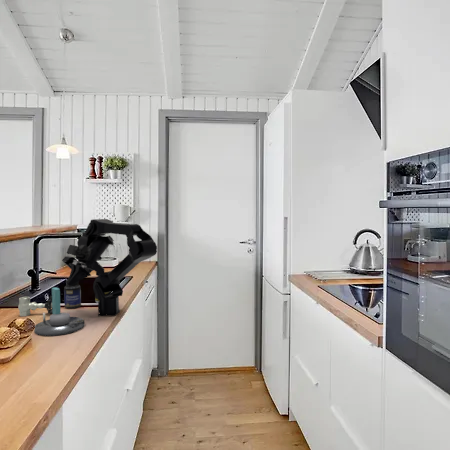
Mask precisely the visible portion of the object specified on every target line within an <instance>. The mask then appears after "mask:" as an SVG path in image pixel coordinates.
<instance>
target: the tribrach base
mask: <svg viewBox="0 0 450 450" xmlns="http://www.w3.org/2000/svg"><path fill="white" fill-rule="evenodd" d="M85 322H86V321H85V319H84V318H82V317H79V316H70V322H69V323H68V324H65V325H60V326H52V325H50V318H49V319H46V312H42V321H41V322H38V323H36V324H35V325H34V327H35V329H34V328H33V329H34V334H35V335H36V336H40V337H58V336H64V335H69V334H70V335H71V334H72V333H75V332H78V331H81V330H82V329H84V328H85V327H86V325H85Z"/></svg>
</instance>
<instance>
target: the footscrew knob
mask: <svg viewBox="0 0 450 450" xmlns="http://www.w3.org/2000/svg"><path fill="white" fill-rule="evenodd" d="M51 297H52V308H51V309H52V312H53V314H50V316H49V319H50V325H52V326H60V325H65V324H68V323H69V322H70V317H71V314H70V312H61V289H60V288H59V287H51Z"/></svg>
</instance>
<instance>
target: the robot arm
mask: <svg viewBox="0 0 450 450" xmlns="http://www.w3.org/2000/svg"><path fill="white" fill-rule="evenodd" d="M109 234H112V235H122V236H126V244H127V247H128V253H127V255H126V256H125V257H124V258H123V259H122V260H121V261H120V262H119V263H118V264H117V265H116V266H114V268H113V269H112V270H110V271H105V268H104V267H103V266H102V265H101V264H100V263H99V262H98V261H101V260H102V259H103V257H102V255H103V254H104V252H105V251H106V250H107V249H108V248H109V246H110V245H111V246H114V245H115V242H114V239H113V237H112V236H111V235H109ZM106 235H108V236H106ZM135 236H136V237H137V238H138V239H139V240H135V238H134V237H135ZM76 243H77V245H74V244H69V245H68V248H67V250H66V254H68V255H67V256H64V257H63V258H62V260H61V261H62V263H64V265H66V266H67V267H68V268H69V269H70V273H69V276H68V279H67V280H68V281H67V284H66V286H67V285H68V286H70V285H72V284H74V283H76V282H78V281H79V282H80V281H81V280H83V279H86V278H88V277H91V276H92V274H91V273H92V272H93V271H95V275H96V277H94V279H95V280H94V281H93V285H92V288H93V294H94V298H96V299H97V300H99V302H98V303H97V312H98V314H97V316H98V317H108V316H109V317H115V316H117V315H118V314H119V313H120V312H121V309H120V302H119V301H120V299H119V297H122V296H123V293H124V290H123V289H122V286H120V281H121V280H122V279H123V278H124V277H125V276H127V275H128V274H129V273H130V272H131V271H132V270H133V269H134V268H135V267H137V265H139V263H141V262H144V261H146V260H148V259H151V258H153V257H154V256H156V255H157V253H158V246H157V243H156V242H155V241H154V239H153V238H152V235H150V234H149V233H147V232H146V231H145V230H144V229H143V228H142V226H141V225H139V224H137V223H122V222H121V223H120V222H113V221H112V220H111V219H107V218H98V219H90V222H89V223H88V225H87V227H86V229H85V231H84V232H81V236H80V237H79V238H78V240H77V242H76ZM69 255H72V256H69ZM108 292H109V293H108ZM105 293H106V294H105Z"/></svg>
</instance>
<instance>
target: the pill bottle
mask: <svg viewBox="0 0 450 450" xmlns="http://www.w3.org/2000/svg"><path fill="white" fill-rule="evenodd" d="M67 281H68V279H66V280H65V284H66V285H65V286H64V287H63V288H64V289H63V292H64V293H63V294H64V295H63V296H64V297H63V299H64V308H65V309H67V310H68V309H69V310H70V309H71V310H72V309H77V308H81V306H82V290H81V289H82V288H81V287H82V286H81V285H80V284H79V282H80V281H78V282H76V283H74V284H72V285H70V286H68V285H67Z"/></svg>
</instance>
